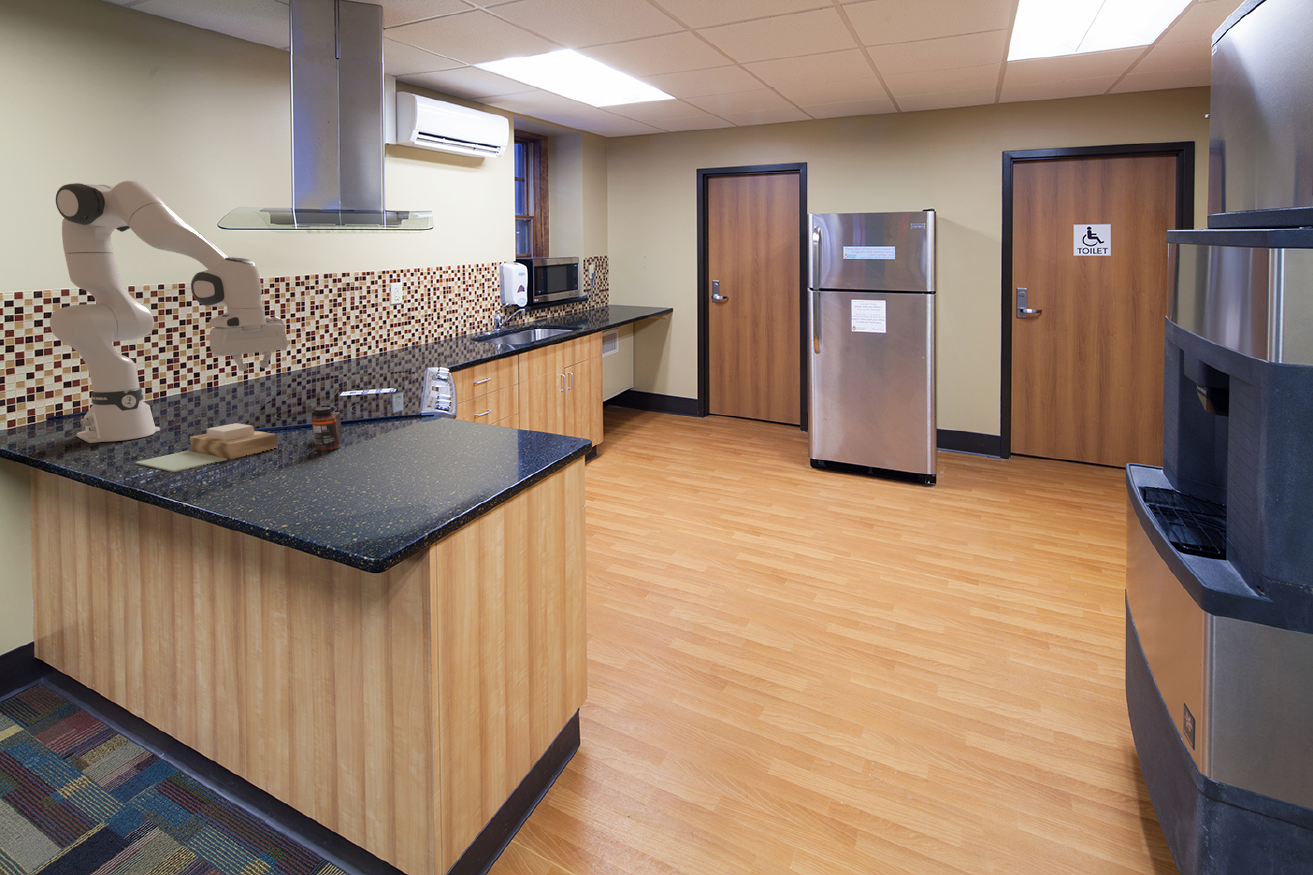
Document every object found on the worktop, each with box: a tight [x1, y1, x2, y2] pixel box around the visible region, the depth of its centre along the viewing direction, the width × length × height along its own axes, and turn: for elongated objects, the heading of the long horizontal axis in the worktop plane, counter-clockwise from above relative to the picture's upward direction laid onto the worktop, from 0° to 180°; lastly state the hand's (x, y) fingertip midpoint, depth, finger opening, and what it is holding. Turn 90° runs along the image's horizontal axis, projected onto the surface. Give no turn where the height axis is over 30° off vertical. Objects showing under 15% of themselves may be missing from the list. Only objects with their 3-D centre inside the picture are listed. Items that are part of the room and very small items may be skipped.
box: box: [313, 412, 343, 440], centre depth 206 cm, size 6×6×7 cm
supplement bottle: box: [311, 406, 340, 452], centre depth 194 cm, size 6×6×11 cm
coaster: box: [206, 422, 255, 440], centre depth 194 cm, size 8×8×2 cm
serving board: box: [189, 430, 279, 460], centre depth 195 cm, size 18×13×4 cm
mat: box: [134, 450, 228, 473], centre depth 184 cm, size 18×13×1 cm
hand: (254, 369), depth 198 cm, fingers open, 5 cm apart
